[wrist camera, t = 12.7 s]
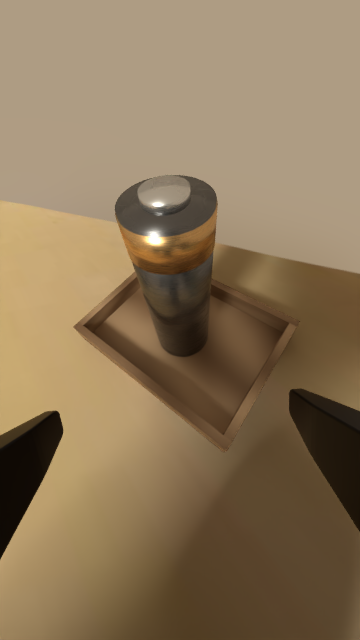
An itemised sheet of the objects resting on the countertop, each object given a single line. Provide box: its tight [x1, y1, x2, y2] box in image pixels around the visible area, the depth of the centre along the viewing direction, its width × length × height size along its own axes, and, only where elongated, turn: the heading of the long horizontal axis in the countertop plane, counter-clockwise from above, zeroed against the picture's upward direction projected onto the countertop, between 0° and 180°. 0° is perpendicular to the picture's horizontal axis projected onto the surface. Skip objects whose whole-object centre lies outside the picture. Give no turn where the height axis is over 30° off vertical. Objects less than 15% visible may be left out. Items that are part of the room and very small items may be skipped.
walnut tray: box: [74, 272, 300, 452], centre depth 19 cm, size 11×15×2 cm
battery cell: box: [115, 175, 218, 357], centre depth 14 cm, size 4×4×12 cm
